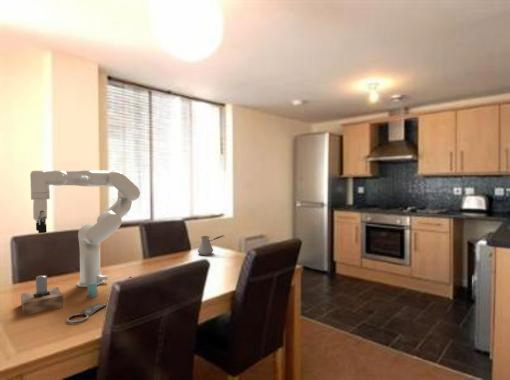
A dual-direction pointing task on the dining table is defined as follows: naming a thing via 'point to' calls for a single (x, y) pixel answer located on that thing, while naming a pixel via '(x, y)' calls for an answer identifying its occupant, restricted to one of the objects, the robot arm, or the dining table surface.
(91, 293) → the short pin
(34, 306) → the hole block
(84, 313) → the grey ring with handle
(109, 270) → the dining table surface
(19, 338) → the dining table surface
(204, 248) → the coffee pot
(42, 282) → the tall pin
